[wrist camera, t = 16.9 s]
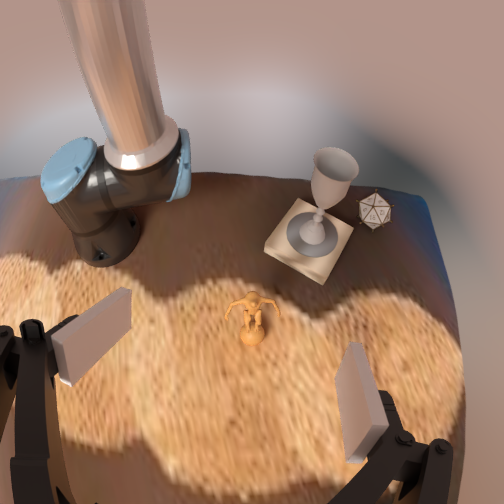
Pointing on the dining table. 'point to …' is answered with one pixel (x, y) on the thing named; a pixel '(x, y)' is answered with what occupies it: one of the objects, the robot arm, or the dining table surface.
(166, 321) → the dining table surface
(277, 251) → the pedestal
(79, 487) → the dining table surface
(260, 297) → the figurine
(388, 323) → the dining table surface
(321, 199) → the chalice
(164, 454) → the dining table surface
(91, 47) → the robot arm
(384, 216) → the game die
